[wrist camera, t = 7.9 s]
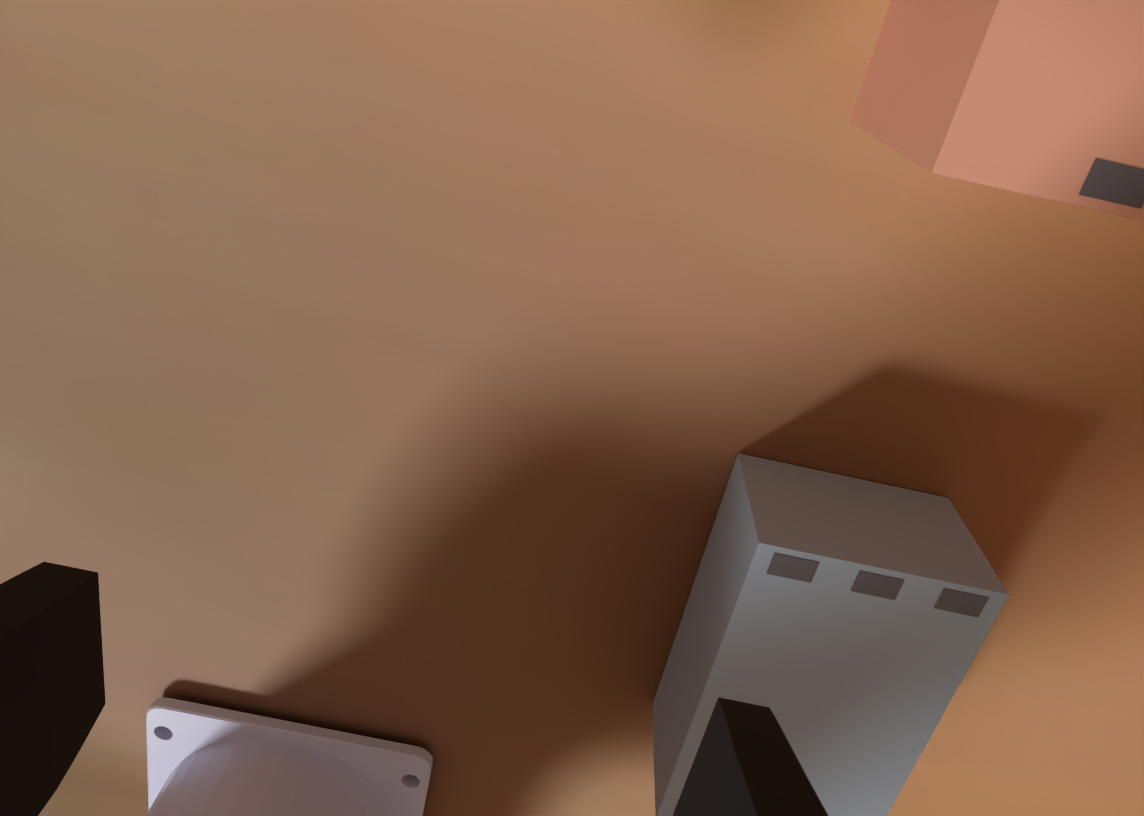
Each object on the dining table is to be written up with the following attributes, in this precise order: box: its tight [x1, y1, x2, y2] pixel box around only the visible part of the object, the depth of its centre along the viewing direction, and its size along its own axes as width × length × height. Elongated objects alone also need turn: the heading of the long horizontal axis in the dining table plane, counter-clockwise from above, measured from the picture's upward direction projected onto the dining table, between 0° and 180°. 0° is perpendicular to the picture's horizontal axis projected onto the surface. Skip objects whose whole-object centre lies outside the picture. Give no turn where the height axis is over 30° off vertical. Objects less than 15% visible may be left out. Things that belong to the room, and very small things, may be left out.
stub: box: [850, 0, 1144, 221], centre depth 13 cm, size 4×5×5 cm
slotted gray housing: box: [652, 453, 1009, 816], centre depth 20 cm, size 8×5×4 cm, turn 168°
